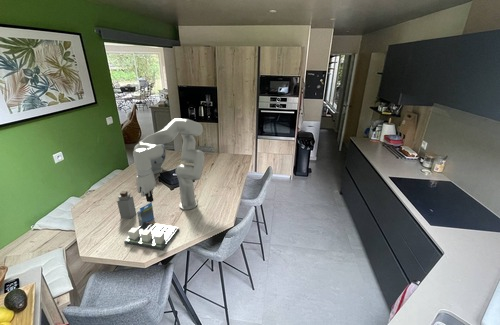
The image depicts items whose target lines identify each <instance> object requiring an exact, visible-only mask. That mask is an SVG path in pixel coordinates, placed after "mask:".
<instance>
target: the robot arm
mask: <svg viewBox="0 0 500 325" xmlns="http://www.w3.org/2000/svg"><path fill="white" fill-rule="evenodd" d="M203 132H204V128H203V125H202V124H201V123H200V122H197V121H194V120H192V119H189V118H179V117H176V118H173V119H172V120H171V121H169V123H167V124H166V125H165V126H164V127H163V128H162V129H160V130H159V131H156V132H154V133H152V134H149V135H147V136H145V137H144V138H143V139H141V140H142V141H141V140H140V141H141V142H140V143H139V142H138V143H137V144H138V146H137V148H136V149H135V150H134V149H133V151H132V155H133V161H134V166H135V171H136V188H137V193H138V194H140V196H141V197H143V198H144V197H145V199H146V202H147V203H151V202H152V203H153V202H154V195H153V193H154V189H155V188H156V185H157V182H156V178H155V174H153V171H152V166H151V160H154V159H157V158H159V157H161V156H162V155H163V152H164V150H163V148H162V147H161V146H160V145H158V144H164V145H165V144H168V143H171V142H173V141H174V140H175V138H176V137H177V136H178V135H180V136H181V138H182V145H181V146H182V147H181V153H180V160H181V161H182V162H184V163H181V164H179V165H178V166H176V169H175V174H176V177H177V181H178V186H179V193H180V194H179V196H180V202H179V205H178V207H179V208H180V209H181V210H184V211H188V210H189V211H190V210H194V208H196V207H197V206H198V202H197V200H196V198H197V194H195V186H194V181H199V180H201V178H202V175H203V171H204V170H203V169H204V163H205V152H203V151H202V150H200V149H196V145H197V143H196V138H195V137H199V136H201V135H202V134H203ZM185 163H188V164H185ZM192 164H193V165H192Z"/></svg>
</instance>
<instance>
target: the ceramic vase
mask: <svg viewBox="0 0 500 325" xmlns="http://www.w3.org/2000/svg"><path fill="white" fill-rule="evenodd" d="M142 140H143V139H141V140H140V141H138V143H137V144H136V145H135V146H134V147H133V151H134V150H135V149H136V148H137V146H138V144H139V143H140V142H141V141H142ZM158 145H160V146H161V147H162V148H163V150H164V152H163V155H162V156H161V157H159V158H157V159H154V160H151V166H152V171H153V174H154V175H156V174H160V173H162V172H164V171H163V170H164V168H163V167H162V166H163V164H164V162H165V160H166V156H167V155H166V148H165V143H164V144H158ZM161 171H162V172H161ZM159 172H160V173H159Z"/></svg>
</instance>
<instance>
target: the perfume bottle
mask: <svg viewBox="0 0 500 325" xmlns="http://www.w3.org/2000/svg"><path fill="white" fill-rule="evenodd" d="M116 203H117V207H118V211H119V216H120V219H123V220H132V219H133V218H134V217H135V215H136V214H137V211H136V210H137V209H136V206H135V201H134V196H133V195H131V193H128V190H122V191H121V192H119V195H118V197H117V200H116Z"/></svg>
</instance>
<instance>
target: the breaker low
mask: <svg viewBox="0 0 500 325" xmlns="http://www.w3.org/2000/svg"><path fill="white" fill-rule="evenodd" d="M127 234H128V237H129V239H133V240H135V239H136V238H137V237H138V236H139V235H140V232H139V228H138V227H131V228H130V229H129V230H128V232H127Z"/></svg>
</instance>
